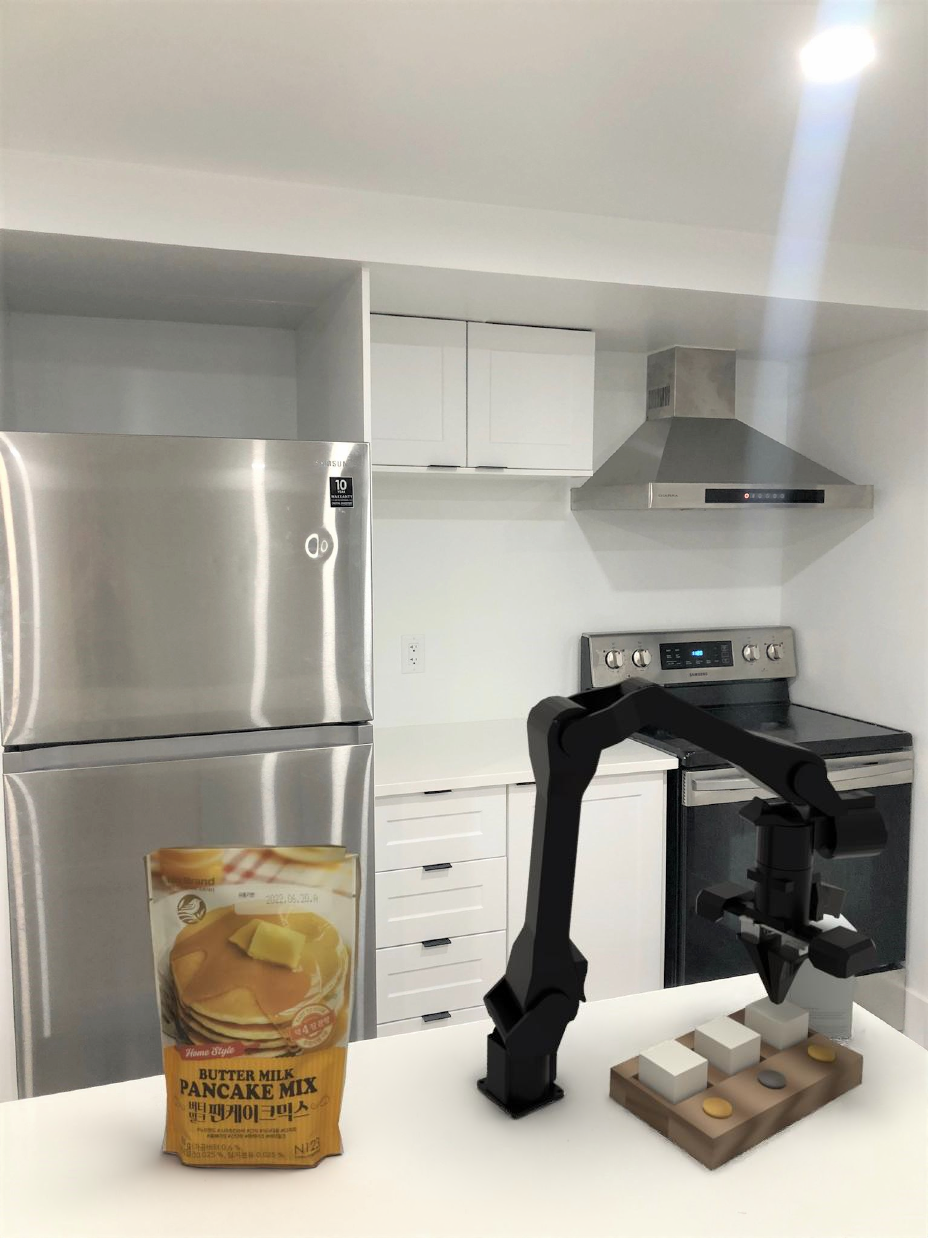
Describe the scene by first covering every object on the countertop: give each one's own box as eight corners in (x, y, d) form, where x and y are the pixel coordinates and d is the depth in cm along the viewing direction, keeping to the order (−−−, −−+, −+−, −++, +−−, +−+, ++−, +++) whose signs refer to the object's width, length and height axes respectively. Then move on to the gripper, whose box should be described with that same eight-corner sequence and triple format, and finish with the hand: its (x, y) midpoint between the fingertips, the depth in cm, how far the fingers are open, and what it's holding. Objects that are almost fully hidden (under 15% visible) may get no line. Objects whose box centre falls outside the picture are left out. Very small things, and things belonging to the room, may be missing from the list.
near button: (673, 1108, 88) (674, 1076, 88) (638, 1084, 92) (639, 1053, 92) (706, 1091, 91) (707, 1060, 90) (670, 1068, 95) (671, 1038, 94)
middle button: (729, 1080, 93) (730, 1049, 92) (693, 1058, 96) (694, 1028, 96) (759, 1064, 95) (760, 1035, 95) (723, 1044, 99) (724, 1015, 99)
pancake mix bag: (162, 1121, 89) (155, 835, 86) (363, 1124, 89) (362, 838, 86) (137, 1171, 82) (128, 862, 79) (354, 1173, 82) (354, 865, 79)
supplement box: (853, 1039, 104) (859, 931, 103) (786, 1038, 105) (791, 929, 103) (828, 1005, 112) (834, 903, 110) (766, 1004, 112) (771, 902, 111)
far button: (780, 1054, 97) (781, 1025, 97) (744, 1034, 101) (745, 1006, 101) (807, 1040, 100) (808, 1012, 100) (771, 1021, 104) (772, 994, 103)
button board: (712, 1170, 83) (713, 1134, 83) (609, 1096, 94) (610, 1064, 93) (861, 1083, 96) (863, 1052, 96) (756, 1027, 107) (758, 998, 106)
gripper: (911, 873, 95) (902, 1019, 97) (759, 823, 111) (753, 950, 112) (847, 897, 89) (838, 1053, 91) (695, 841, 104) (690, 975, 106)
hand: (776, 1002), depth 100 cm, fingers closed
